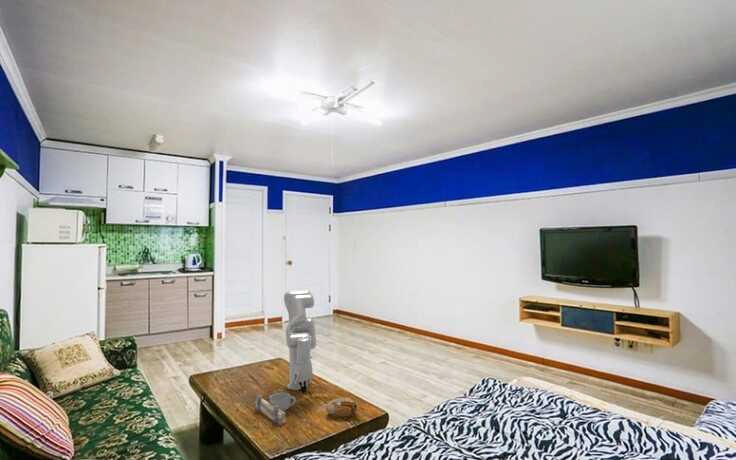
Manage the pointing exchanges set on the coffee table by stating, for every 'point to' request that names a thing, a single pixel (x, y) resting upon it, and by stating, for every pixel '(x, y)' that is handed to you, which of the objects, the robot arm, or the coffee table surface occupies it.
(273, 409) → the bar
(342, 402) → the nautilus
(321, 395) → the coffee table surface
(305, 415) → the coffee table surface
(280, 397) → the teacup
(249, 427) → the coffee table surface
